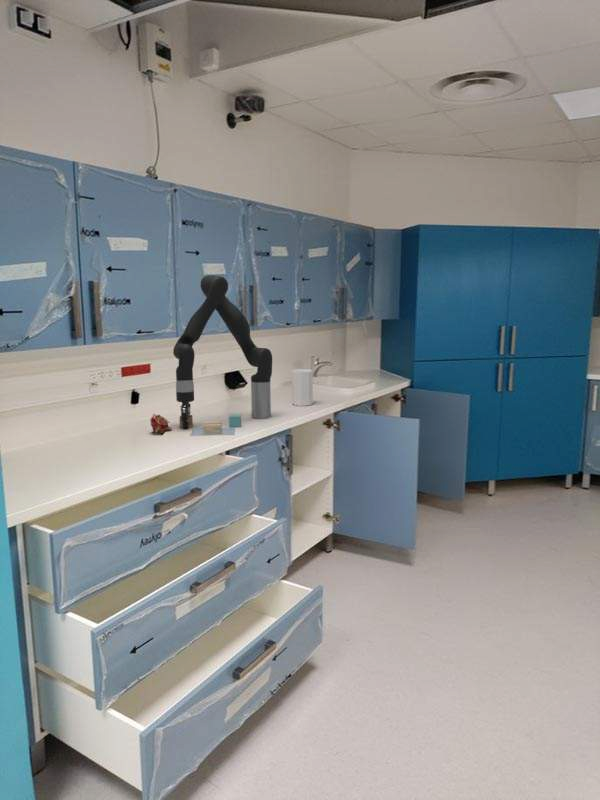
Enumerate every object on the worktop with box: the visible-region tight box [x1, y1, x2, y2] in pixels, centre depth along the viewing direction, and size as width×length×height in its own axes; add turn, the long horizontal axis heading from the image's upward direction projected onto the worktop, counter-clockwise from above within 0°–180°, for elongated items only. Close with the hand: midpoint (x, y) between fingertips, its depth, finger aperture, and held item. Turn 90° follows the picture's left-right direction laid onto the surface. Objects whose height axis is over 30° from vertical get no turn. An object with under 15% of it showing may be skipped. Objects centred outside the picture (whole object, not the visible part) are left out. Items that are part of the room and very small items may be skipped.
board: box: [189, 427, 236, 437], centre depth 242 cm, size 14×18×1 cm
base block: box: [203, 421, 223, 436], centre depth 240 cm, size 7×7×4 cm
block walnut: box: [179, 414, 194, 430], centre depth 250 cm, size 5×5×6 cm
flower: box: [149, 413, 173, 435], centre depth 245 cm, size 10×9×8 cm
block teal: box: [228, 413, 242, 428], centre depth 252 cm, size 5×5×6 cm
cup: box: [291, 368, 314, 407], centre depth 310 cm, size 11×11×18 cm
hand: (186, 428), depth 251 cm, fingers closed on block walnut, 5 cm apart
